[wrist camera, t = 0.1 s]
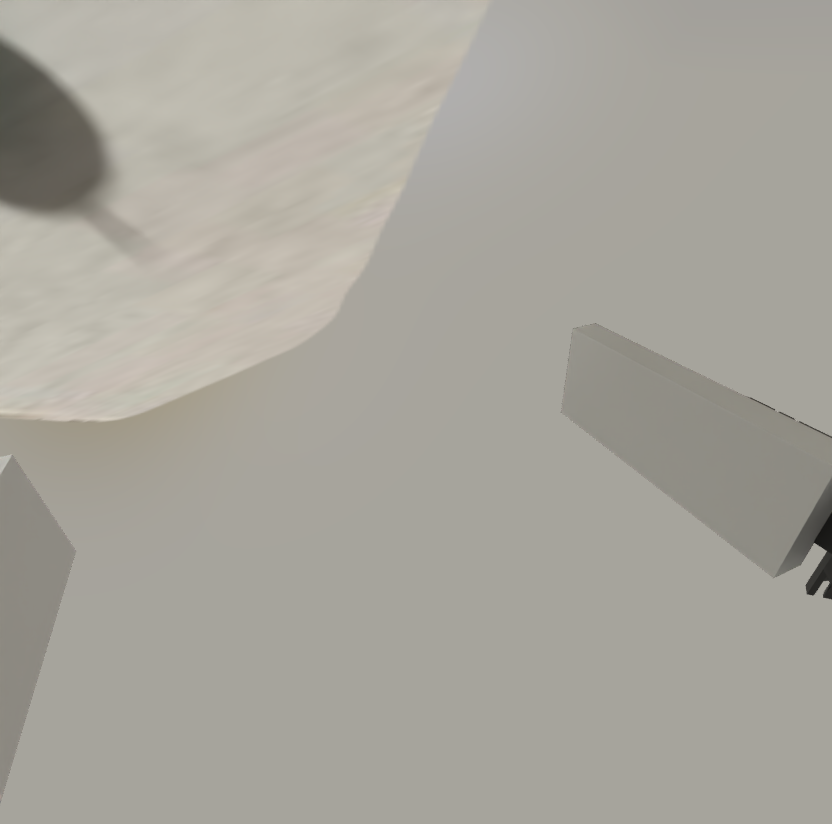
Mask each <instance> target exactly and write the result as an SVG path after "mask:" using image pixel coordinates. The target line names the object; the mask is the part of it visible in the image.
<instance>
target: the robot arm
mask: <svg viewBox="0 0 832 824" xmlns="http://www.w3.org/2000/svg"><path fill="white" fill-rule="evenodd" d="M561 413H562V414H564V415H565V416H566V417H568V418H569V419H570V420H571V421H573V422H574V423H575V424H577V425H578V426H579V427H580V428H582V429H583V430H584V431H586V432H587V433H588V434H589V435H591V436H592V437H593V438H595V439H596V440H597V441H598V442H600V443H601V444H602V445H603V446H605V447H606V448H607V449H609V450H610V451H611V452H613V453H614V454H615V455H616V456H618V457H619V458H620V459H622V460H623V461H624V462H626V463H627V464H628V465H629V466H630V467H632V468H633V469H634V470H636V471H637V472H638V473H639V474H641V475H642V476H643V477H644V478H646V479H647V480H648V481H650V482H651V483H652V484H654V485H655V486H656V487H658V488H659V489H660V490H661V491H663V492H664V493H665V494H666V495H668V496H669V497H670V498H671V499H673V500H674V501H675V502H677V503H678V504H679V505H681V506H682V507H683V508H684V509H686V510H687V511H688V512H689V513H691V514H692V515H693V516H695V517H696V518H697V519H698V520H700V521H701V522H702V523H703V524H705V525H706V526H707V527H709V528H710V529H711V530H713V531H714V532H715V533H717V534H718V535H719V536H720V537H721V538H723V539H724V540H725V541H727V542H728V543H729V544H731V545H732V546H733V547H734V548H736V549H737V550H738V551H739V552H741V553H742V554H743V555H745V556H746V557H747V558H748V559H750V560H751V561H752V562H753V563H755V564H756V565H757V566H759V567H760V568H762V570H764V571H765V572H766V573H768V574H769V575H770V576H772V577H773V578H775V577H777V576H779V575H781V574H783V573H785V572H787V571H789V570H791V569H793V568H796V567H797V566H799V565H801V564H802V562H803V560H804V559H805V557H806V555H807V554H808V552H809V550H810V549H811V547H812V546H813V544H814V543H816V544H817V545H819V546H820V547H822V548H823V549H825V550H826V551H827V552H826V554H825V556H824V557H823V559H822V560H821V562H820V563H819V565H818V567H817V568H816V570H815V571H814V573H813V574H812V576H811V578H810V579H809V581H808V582H807V584H806V591H807V594H809V595H814V594H815V593H816V591H817V590H818V588H819V587H820V585H821V584H822V582H823V581H829V582H830V584H829V585H828V587H827V588H826V590H825V592H824V594H823V598H829V599H832V437H831V436H829V435H827V434H825V433H823V432H821V431H819V430H816V429H814V428H812V427H810V426H808V425H806V424H804V423H802V422H798V421H796V420H795V419H794V418H792V417H790V416H788V415H785V414H783V413H781V412H777V411H775V409H773V408H771V407H769V406H767V405H765V404H763V403H761V402H759V401H757V400H754V399H752V398H749V397H746V396H744V395H742V394H740V393H738V392H736V391H734V390H732V389H730V388H728V387H725V386H723V385H721V384H719V383H717V382H715V381H713V380H711V379H709V378H707V377H705V376H703V375H701V374H699V373H696V372H694V371H693V370H690V369H688V368H686V367H684V366H682V365H680V364H678V363H676V362H674V361H672V360H670V359H668V358H666V357H664V356H662V355H659V354H658V353H655V352H653V351H651V350H649V349H647V348H645V347H643V346H641V345H639V344H637V343H635V342H633V341H631V340H629V339H627V338H625V337H622V336H620V335H618V334H616V333H614V332H612V331H610V330H608V329H606V328H604V327H602V326H600V325H598V324H596V323H595V324H590V325H586V326H582V327H577V328H573V332H572V339H571V345H570V352H569V359H568V367H567V373H566V380H565V388H564V394H563V401H562V408H561ZM75 553H76V550H75V548H74V547H73V545H72V544H71V542H70V541H69V539H68V538H67V536H66V535H65V533H64V532H63V530H62V529H61V527H60V526H59V524H58V523H57V521H56V520H55V518H54V517H53V515H52V514H51V512H50V510H49V509H48V508H47V506H46V505H45V503H44V501H43V500H42V499H41V497H40V496H39V494H38V493H37V491H36V489H35V488H34V486H33V485H32V484H31V482H30V480H29V479H28V478H27V476H26V474H25V473H24V471H23V470H22V468H21V467H20V465H19V464H18V462H17V461H16V459H15V458H14V456H13V455H8V456H3V457H0V802H1V799H2V796H3V792H4V789H5V786H6V782H7V779H8V776H9V773H10V769H11V766H12V762H13V759H14V756H15V753H16V749H17V746H18V742H19V739H20V736H21V733H22V729H23V726H24V723H25V719H26V716H27V713H28V709H29V706H30V703H31V699H32V696H33V693H34V689H35V686H36V683H37V679H38V676H39V673H40V669H41V666H42V663H43V659H44V656H45V653H46V649H47V646H48V643H49V640H50V636H51V633H52V630H53V626H54V623H55V620H56V616H57V613H58V610H59V606H60V603H61V599H62V596H63V593H64V590H65V586H66V583H67V580H68V576H69V573H70V570H71V567H72V563H73V560H74V556H75Z"/></svg>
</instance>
